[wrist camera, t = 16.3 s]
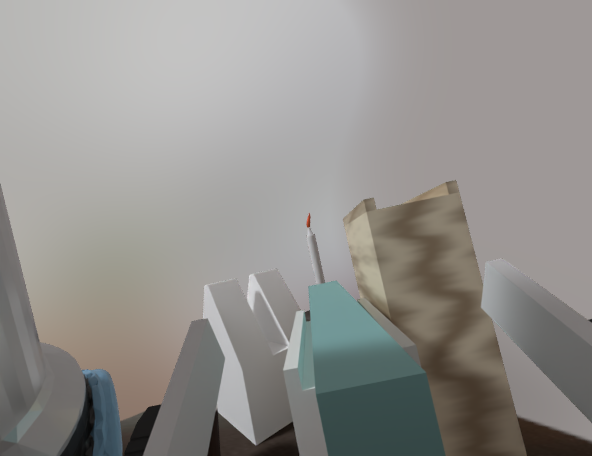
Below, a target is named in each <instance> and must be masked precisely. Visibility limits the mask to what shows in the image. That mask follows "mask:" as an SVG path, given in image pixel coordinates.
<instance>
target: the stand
mask: <svg viewBox="0 0 592 456" xmlns="http://www.w3.org/2000/svg"><path fill="white" fill-rule="evenodd" d="M343 222H344V226H345V230H346V235H347V240H348V244H349V249H350V253H351V257H352V262H353V267H354V271H355V276H356V280H357V285H358V290H359V294H360V299H362V298H365V299H366V300H368V301H369V302H370V303H371V304H372V305H373V306H374V307H375V308H376V309H377V310H378V311H380V312H381V313H382V314H383V315H384V316H385V317H386V318H387V319H388V320H389V321H391V322H392V323H393V324H394V325H395V326H396V327H397V328H398V329H399V330H400V331H401V332H403V333H404V334H405V335H406V336H407V337H408V338H409V339H410V340H411V341H412V342H413V343H415V344H416V347H417V351H418V355H419V360H420V364H421V368H422V369H423V370H424V371H425V372H426V374H427V378H428V383H429V387H430V391H431V395H432V400H433V404H434V408H435V412H436V417H437V421H438V425H439V429H440V434H441V438H442V442H443V446H444V451H445V455H446V456H527V454H526V450H525V446H524V442H523V438H522V434H521V430H520V426H519V423H518V419H517V415H516V411H515V407H514V403H513V400H512V396H511V392H510V388H509V384H508V380H507V376H506V372H505V368H504V364H503V361H502V357H501V353H500V349H499V345H498V341H497V337H496V333H495V330H494V325H493V321H492V318H491V317H490V316H489V315H488V314H487V313H486V312H485V311H484V310H483V309H482V308H481V302H482V293H483V283H482V279H481V275H480V271H479V267H478V263H477V259H476V255H475V251H474V248H473V244H472V240H471V236H470V232H469V228H468V224H467V220H466V216H465V213H464V209H463V205H462V201H461V197H460V193H459V189H458V186H457V181H456V180H455V181H450V182H446V183H444V184H441V185H439V186H437V187H435V188H433V189H431V190H429V191H427V192H425V193H423V194H421V195H419V196H417V197H415V198H413V199H411V200H409V201H407V202H405V203H403V204H401V205H396V206H392V207H387V208H382V209H378V210H377V209H376V205H375V201H374V198H370V199H365V200H363V201H362V202H361V203H360V204H359V205H357V206H356V207H355V208H354V209H353V210H352V211H351V212H350V213H349V214H348V215H347V216H346V217H344V219H343Z"/></svg>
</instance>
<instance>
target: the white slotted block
mask: <svg viewBox="0 0 592 456" xmlns="http://www.w3.org/2000/svg"><path fill="white" fill-rule="evenodd" d="M297 311H301V309H300V308H299V306H298V304H297V302H296V301H295V299H294V297H293V296H292V294H291V292H290V291H289V289H288V287H287V285H286V283H285V282H284V280H283V278H282V276H281V275H280V273H279V271H278V269H272V270H267V271H263V272H259V273H255V274H251V275H249V285H248V294H247V299H246V298H245V295H244V293H243V291H242V289H241V287H240V285H239V283H238V281H237V279H236V278H235V279H230V280H226V281H222V282H217V283H213V284H209V285H205V286H204V311H203V319H206V318H208V320H209V322H210V325H211V327H212V329H213V331H214V334H215V336H216V338H217V341H218V343H219V345H220V347H221V350H222V352H223V354H224V356H225V363H224V368H223V373H222V379H221V384H220V390H219V395H218V400H217V409H218V412H219V413H220V414H221V415H222V416H223V417H224V418H225V419H227V420H228V421H229V422H230V423H231V424H232V425H233V426H234V427H236V428H237V429H238V430H239V431H240V432H241V433H242V434H244V435H245V436H246V437H247V438H248V439H249V440H250V441H252V442H253V443H254V444H255V445H258V444H259V443H261V442H262V441H264V440H265V439H267V438H268V437H270V436H271V435H273V434H274V433H276V432H277V431H279V430H280V429H282V428H283V427H285V426H286V425H288V424H289V423H291V422H292V421H293V419H292V414H291V409H290V404H289V398H288V393H287V388H286V383H285V378H284V373H283V368H284V364H285V360H286V355H287V351H288V346H289V342H290V338H291V333H292V329H293V324H294V320H295V316H296V312H297Z"/></svg>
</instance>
